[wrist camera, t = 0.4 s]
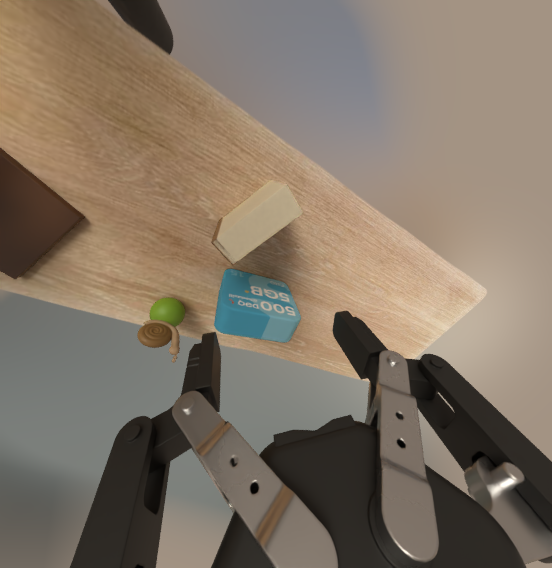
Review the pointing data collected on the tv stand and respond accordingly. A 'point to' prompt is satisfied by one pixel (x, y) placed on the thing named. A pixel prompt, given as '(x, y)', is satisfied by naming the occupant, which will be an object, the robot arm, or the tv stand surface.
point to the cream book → (255, 220)
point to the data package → (255, 307)
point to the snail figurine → (163, 325)
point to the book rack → (29, 217)
